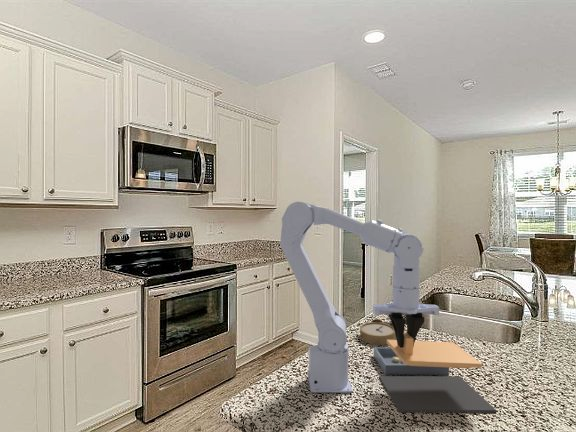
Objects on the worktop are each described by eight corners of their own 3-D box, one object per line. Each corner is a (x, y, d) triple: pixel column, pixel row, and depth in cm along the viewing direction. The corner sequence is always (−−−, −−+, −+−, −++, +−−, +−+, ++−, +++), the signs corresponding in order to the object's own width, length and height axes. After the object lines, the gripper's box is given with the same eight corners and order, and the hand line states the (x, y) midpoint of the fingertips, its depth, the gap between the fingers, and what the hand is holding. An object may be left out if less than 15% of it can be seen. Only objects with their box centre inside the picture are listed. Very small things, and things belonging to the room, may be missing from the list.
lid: (403, 368, 70) (405, 344, 70) (386, 346, 82) (387, 325, 81) (481, 371, 70) (483, 347, 70) (453, 348, 82) (454, 328, 82)
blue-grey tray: (385, 375, 83) (385, 365, 83) (373, 356, 94) (373, 347, 94) (448, 375, 84) (449, 365, 84) (429, 356, 95) (429, 347, 95)
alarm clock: (352, 330, 107) (375, 312, 118) (353, 344, 108) (376, 325, 119) (385, 339, 100) (406, 319, 110) (386, 355, 100) (406, 333, 111)
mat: (399, 412, 68) (399, 409, 68) (379, 378, 82) (379, 376, 82) (496, 412, 68) (496, 410, 68) (459, 378, 82) (460, 376, 82)
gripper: (379, 290, 71) (378, 353, 72) (446, 290, 72) (445, 353, 72) (370, 283, 78) (369, 340, 79) (431, 283, 79) (430, 340, 79)
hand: (405, 346), depth 76 cm, fingers closed on lid
